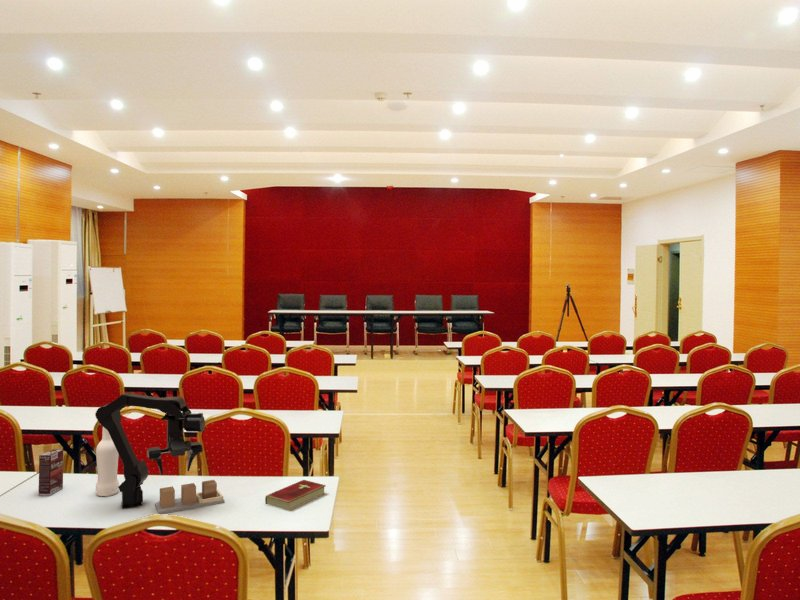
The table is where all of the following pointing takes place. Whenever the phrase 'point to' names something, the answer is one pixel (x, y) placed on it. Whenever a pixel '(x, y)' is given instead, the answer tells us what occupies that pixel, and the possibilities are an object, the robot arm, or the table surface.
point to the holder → (184, 499)
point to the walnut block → (209, 489)
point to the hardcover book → (295, 495)
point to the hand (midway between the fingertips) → (175, 472)
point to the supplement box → (50, 472)
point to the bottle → (107, 466)
